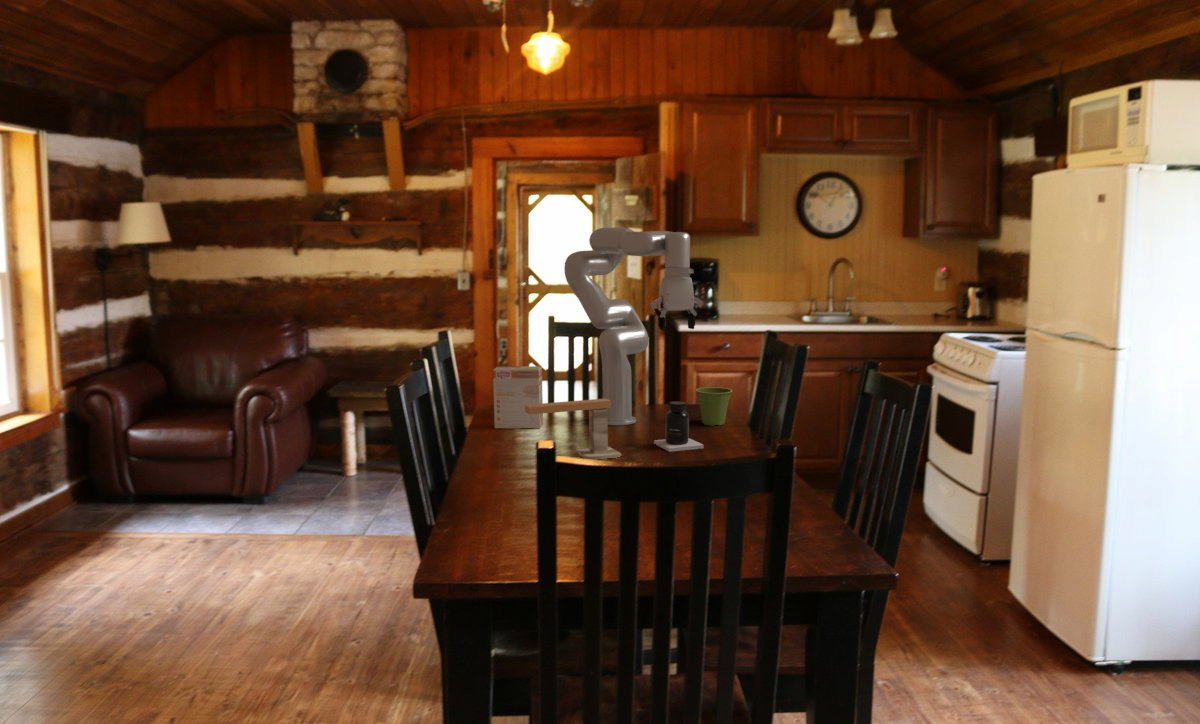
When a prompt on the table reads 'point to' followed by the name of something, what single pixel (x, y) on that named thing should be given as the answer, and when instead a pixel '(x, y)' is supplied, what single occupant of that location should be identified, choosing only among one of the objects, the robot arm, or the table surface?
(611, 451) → the stand
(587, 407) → the strap bar
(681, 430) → the supplement bottle
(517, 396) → the coffeecake box
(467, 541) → the table surface
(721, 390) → the plant pot
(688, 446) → the grey mat
